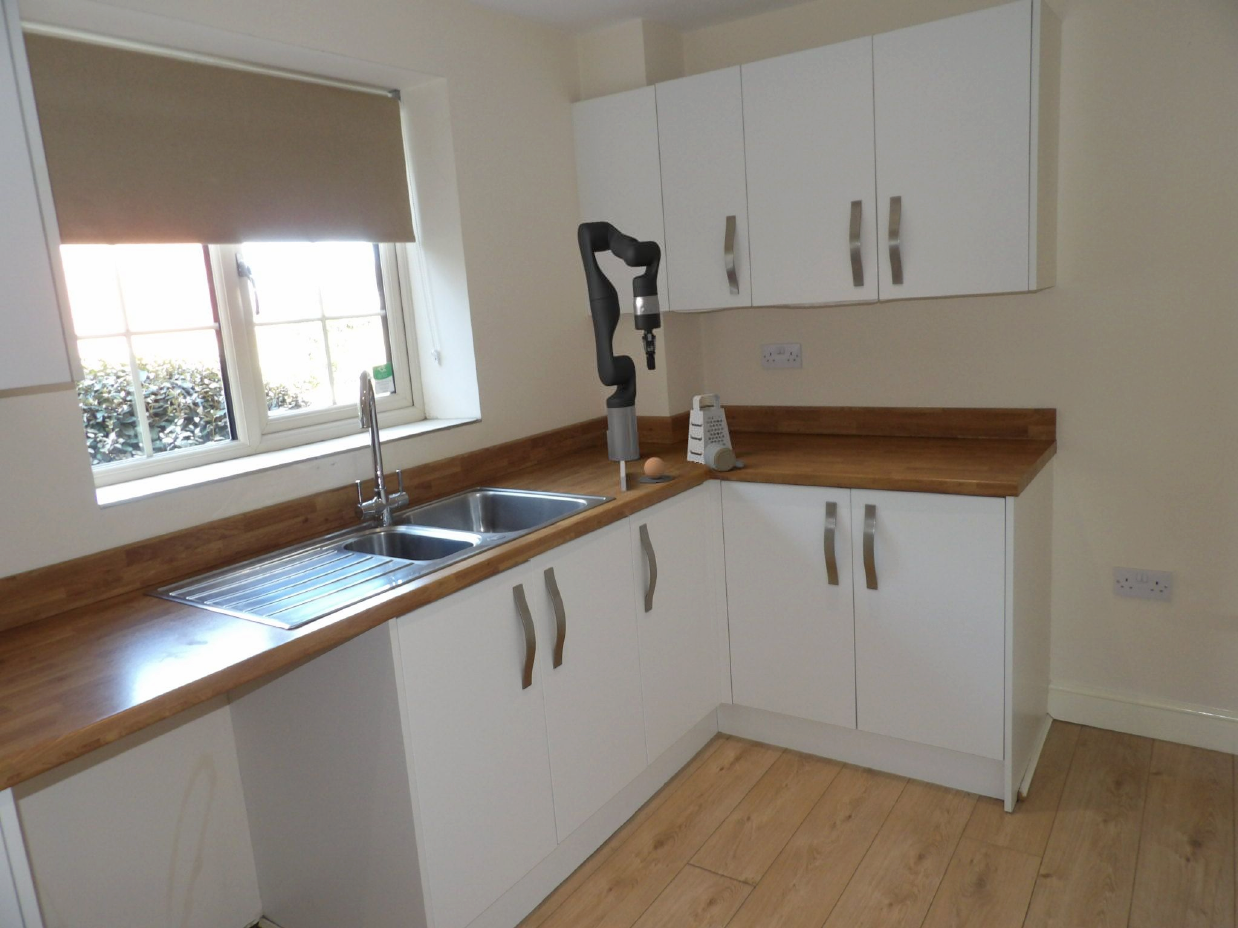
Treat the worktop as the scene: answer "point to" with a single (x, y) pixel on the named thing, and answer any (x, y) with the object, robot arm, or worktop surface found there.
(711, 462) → the ceramic mug
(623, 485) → the low wall
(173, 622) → the worktop surface
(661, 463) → the ball
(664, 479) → the pad
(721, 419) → the grater
